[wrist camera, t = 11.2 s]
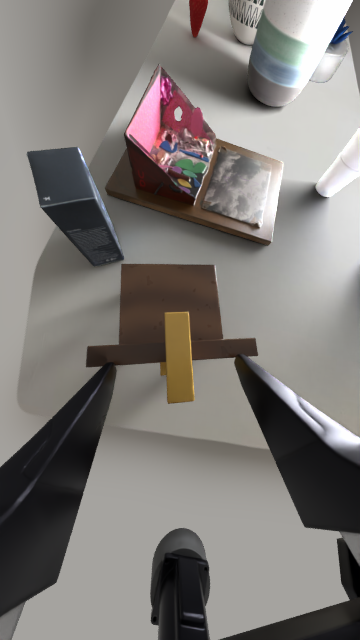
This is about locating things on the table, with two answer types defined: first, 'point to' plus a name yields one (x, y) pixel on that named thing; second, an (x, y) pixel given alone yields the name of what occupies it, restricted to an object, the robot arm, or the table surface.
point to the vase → (290, 46)
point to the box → (75, 203)
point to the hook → (178, 358)
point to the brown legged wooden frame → (163, 297)
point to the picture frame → (194, 168)
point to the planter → (245, 18)
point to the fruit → (197, 14)
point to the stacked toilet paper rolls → (341, 168)
